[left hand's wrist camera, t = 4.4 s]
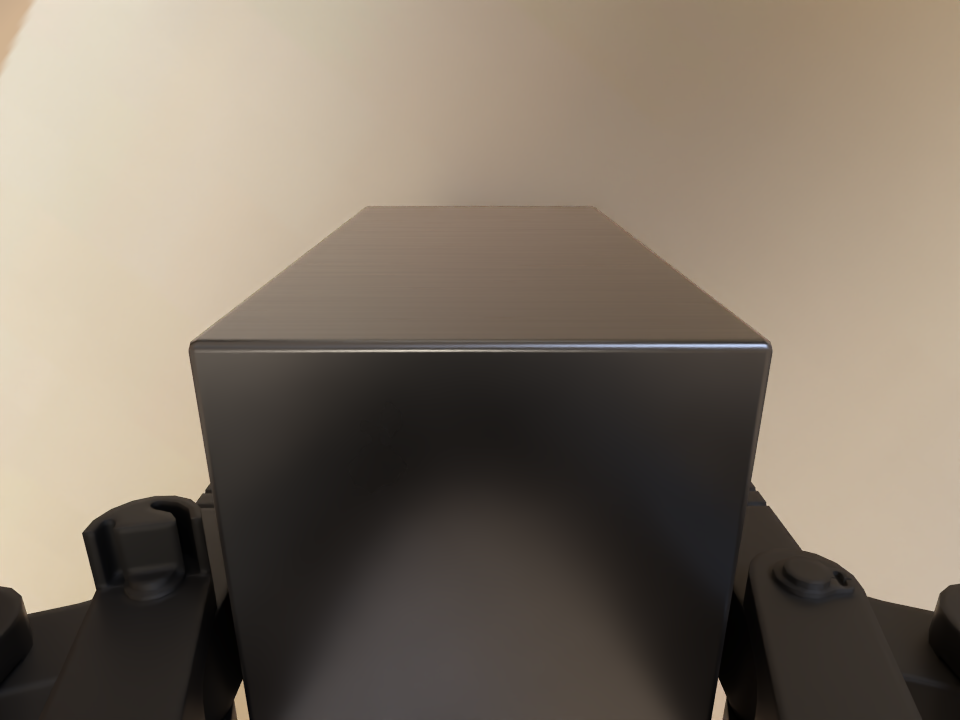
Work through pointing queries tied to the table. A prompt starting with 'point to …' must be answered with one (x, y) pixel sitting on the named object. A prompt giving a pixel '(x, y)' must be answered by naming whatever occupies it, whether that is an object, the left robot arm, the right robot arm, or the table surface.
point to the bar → (480, 471)
